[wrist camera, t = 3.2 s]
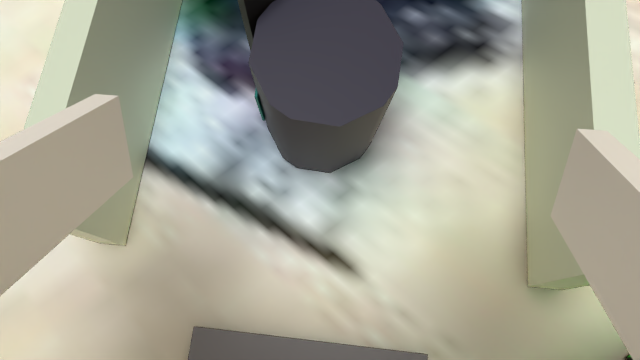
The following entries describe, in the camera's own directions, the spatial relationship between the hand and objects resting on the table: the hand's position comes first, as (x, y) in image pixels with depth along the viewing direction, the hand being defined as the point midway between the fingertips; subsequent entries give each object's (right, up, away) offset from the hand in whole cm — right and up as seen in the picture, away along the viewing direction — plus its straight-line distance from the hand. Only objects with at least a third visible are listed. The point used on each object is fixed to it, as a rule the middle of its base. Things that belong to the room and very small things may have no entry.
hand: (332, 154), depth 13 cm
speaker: (0, +3, +12) cm, 12 cm away
